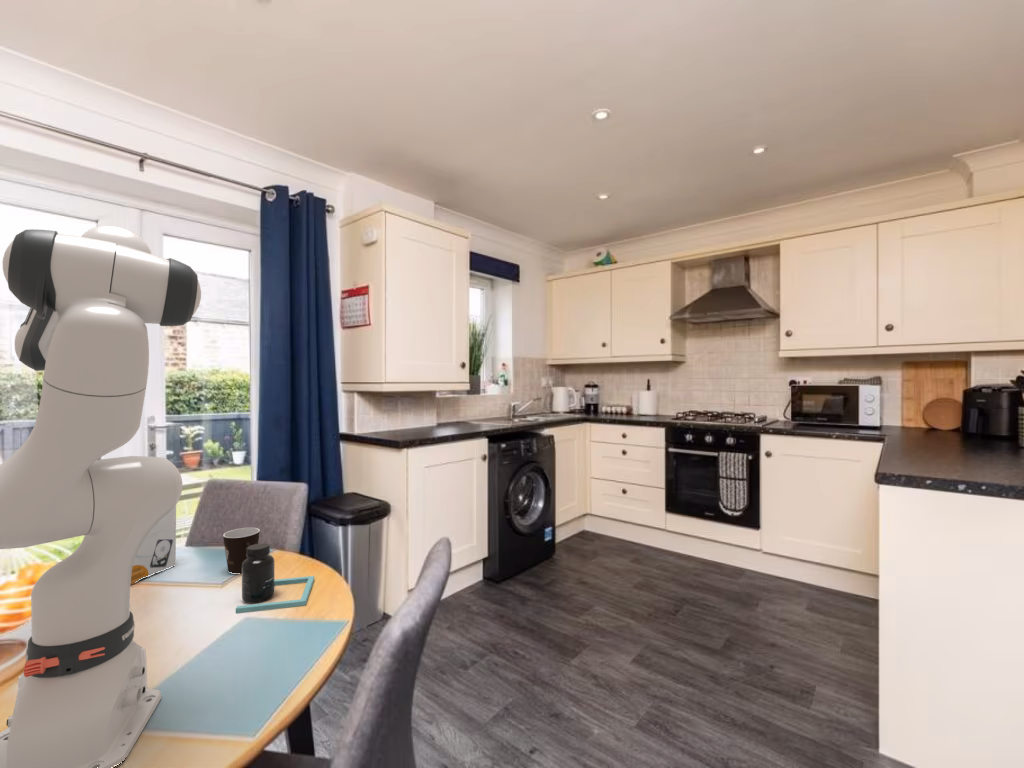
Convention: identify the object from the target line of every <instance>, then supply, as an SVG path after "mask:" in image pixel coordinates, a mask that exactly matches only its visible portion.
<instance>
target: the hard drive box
mask: <svg viewBox="0 0 1024 768" xmlns="http://www.w3.org/2000/svg"><path fill="white" fill-rule="evenodd" d="M176 537H177V505H176V506H175V507H174V508H173V509H172V511H171V512H169V513H168V514H167V515H166V516H164V517H163V518H162V519H161V520H160V521H159V522H158V523H157V524H156V525H155V526H154V527H153V528H152V530H151V531H150V532H149V534H148V535H147V536H146V538H145V539H144V541H143V543H142V544H141V546H140V548H139V550H138V552H137V555H136V557H135V560H134V563H133V567H132V574H131V585H134V583H135V582H136V581H138V580H139V579H141V578H143V577H146V576H148V575H151V574H153V573H156V572H158V571H161V570H164V569H166V568H169V567H171V566H174V565H176V564H177V563H176V554H177V552H176V550H177V548H176V547H177V545H176V544H177V539H176ZM174 567H175V566H174ZM135 584H136V583H135Z"/></svg>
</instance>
